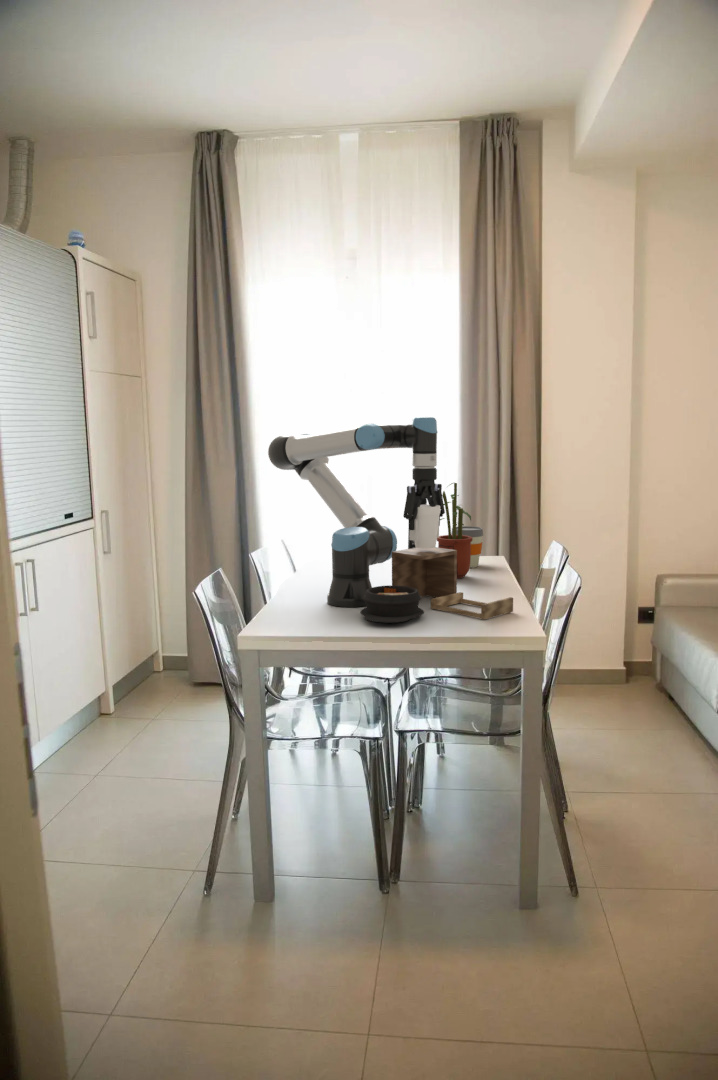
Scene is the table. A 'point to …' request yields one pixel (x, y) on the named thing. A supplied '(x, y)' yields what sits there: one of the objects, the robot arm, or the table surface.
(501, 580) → the table surface
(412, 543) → the whiskey bottle
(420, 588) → the cubby cabinet
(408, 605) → the casserole
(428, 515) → the foam cup
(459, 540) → the potted plant
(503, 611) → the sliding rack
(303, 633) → the table surface
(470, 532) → the reusable coffee cup
